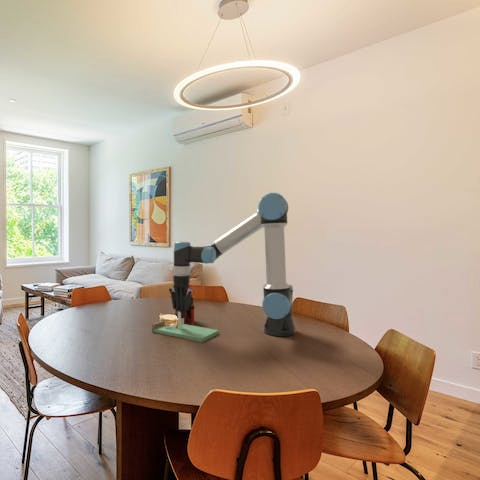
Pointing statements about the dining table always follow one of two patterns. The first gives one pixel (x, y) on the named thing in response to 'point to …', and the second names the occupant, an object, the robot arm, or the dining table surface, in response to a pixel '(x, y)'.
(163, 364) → the dining table surface
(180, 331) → the board with hole
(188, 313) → the mug
